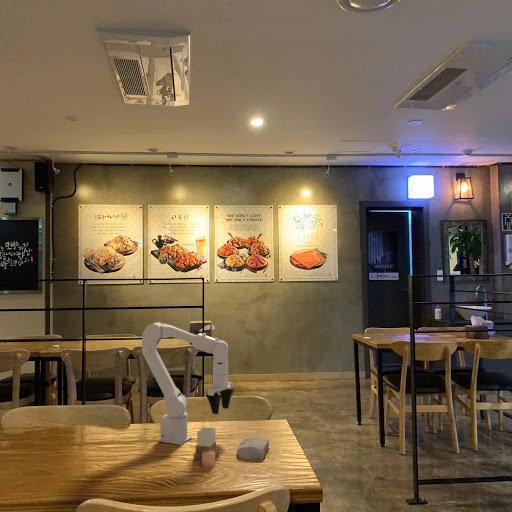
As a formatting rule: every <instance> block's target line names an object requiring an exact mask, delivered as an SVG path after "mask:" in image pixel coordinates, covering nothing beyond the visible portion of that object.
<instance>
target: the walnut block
mask: <svg viewBox="0 0 512 512" xmlns="http://www.w3.org/2000/svg"><path fill="white" fill-rule="evenodd" d="M208 450H211V451H215V450H217V442H216V441H215V443H214V444H213V445H212V446H210V447H206V446H197V444H195V452H196V453H197V454H202V452H204V451H208Z"/></svg>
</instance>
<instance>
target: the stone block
mask: <svg viewBox="0 0 512 512" xmlns="http://www.w3.org/2000/svg"><path fill="white" fill-rule="evenodd" d="M269 439H270V438H267V439H266V438H262V437H250V438H245V439H243V440H242V441H241V442H240V443H239V445H238V447H237V449H236V454H237V456H238V458H240V459H244V460H245V459H246V460H251V459H253V460H264V458H265V456H266V454H267V452H268V450H269V448H270V440H269Z"/></svg>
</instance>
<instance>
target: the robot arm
mask: <svg viewBox="0 0 512 512" xmlns="http://www.w3.org/2000/svg"><path fill="white" fill-rule="evenodd" d="M141 337H142V342H141V343H142V344H141V353H142V355H143V358H144V360H145V362H146V363H147V365H148V367H149V369H150V371H151V372H152V375H153V377H154V378H155V380H156V382H157V385H158V386H159V387H160V390H161V392H162V394H163V399H164V404H166V412H167V413H165V414H164V415H163V416H161V419H160V423H159V424H160V427H159V429H160V430H159V431H160V433H159V435H160V436H159V437H160V438H159V439H158V442H160V443H161V442H162V443H167V444H172V445H178V446H179V445H183V444H184V443H186V442H187V441H189V440H192V438H193V437H192V436H190V435H188V413H187V411H186V408H187V406H188V399H187V397H186V396H185V395H184V394H183V393H181V391H180V389H179V388H178V387H177V386H176V385H175V382H174V381H173V379H172V377H171V375H170V373H169V371H168V369H167V367H166V365H165V363H164V362H163V359H162V358H161V356H160V353H159V352H158V346H159V344H160V342H161V340H162V339H167V338H175V339H178V340H180V341H184V342H186V343H190V344H192V346H193V348H195V349H196V350H200V351H202V352H205V353H207V354H212V355H213V356H212V357H213V358H212V359H213V361H212V385H211V387H210V388H209V389H207V393H206V395H205V396H206V399H207V400H208V403H209V405H210V409H211V413H212V415H213V414H214V415H218V414H219V411H220V403H221V406H222V409H227V410H228V409H229V406H230V402H231V398H232V396H233V394H234V391H235V388H233V381H229V360H228V359H229V355H228V353H229V345H228V343H227V342H226V341H225V340H223V339H219V338H218V337H215V338H214V337H212V336H208V335H207V333H204V332H202V333H200V332H199V333H197V334H193V333H191V332H189V331H186V330H184V329H181V328H179V327H177V326H174V325H171V324H168V323H162V322H160V321H156V322H153V323H151V324H148V325H146V327H145V328H144V330H143V333H142V334H141ZM218 393H220V394H218Z"/></svg>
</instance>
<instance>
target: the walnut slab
mask: <svg viewBox="0 0 512 512" xmlns="http://www.w3.org/2000/svg"><path fill="white" fill-rule="evenodd" d="M214 452H215V460H216V459H217V458H219V456H220V453H219V452H220V450H219V449H216V450H215V451H214ZM193 461H197V462H202V454H197V453H196V451H195V452H193Z"/></svg>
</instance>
